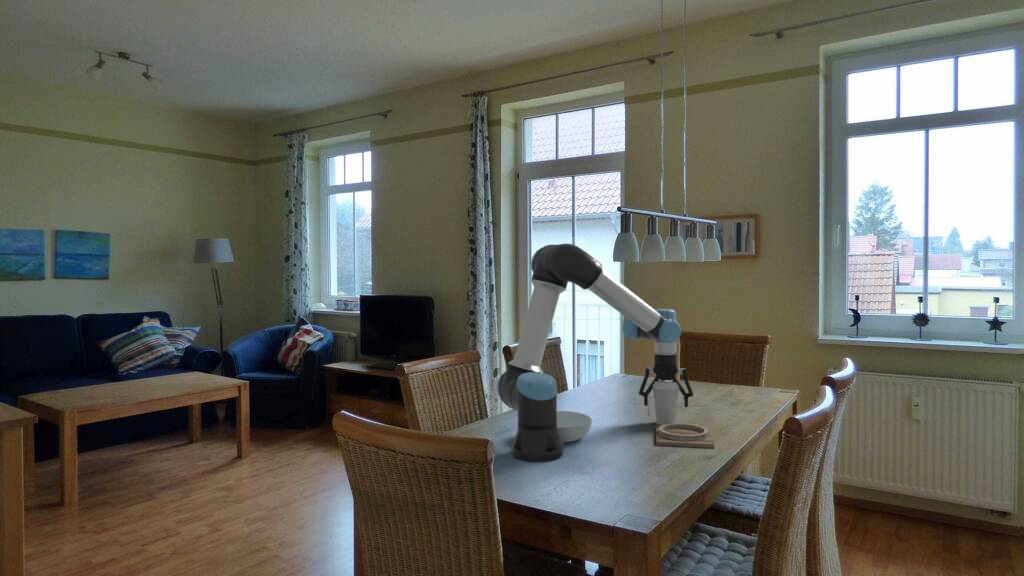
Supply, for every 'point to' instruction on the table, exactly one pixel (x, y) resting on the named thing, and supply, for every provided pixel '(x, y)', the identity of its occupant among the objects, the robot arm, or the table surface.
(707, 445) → the carrier board
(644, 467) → the table surface
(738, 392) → the table surface
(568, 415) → the serving bowl
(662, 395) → the coffee cup
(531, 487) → the table surface
